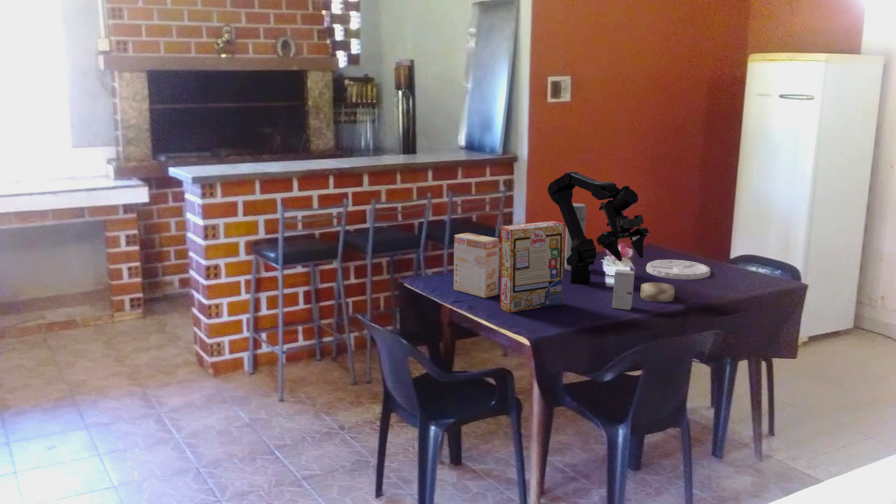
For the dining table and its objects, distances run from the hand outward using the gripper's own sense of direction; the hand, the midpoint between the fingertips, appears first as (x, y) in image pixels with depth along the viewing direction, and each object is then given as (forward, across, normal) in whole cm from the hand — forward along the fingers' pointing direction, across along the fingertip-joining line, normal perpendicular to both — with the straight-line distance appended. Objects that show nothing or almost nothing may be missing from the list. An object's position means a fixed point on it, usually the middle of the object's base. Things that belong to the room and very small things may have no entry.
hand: (631, 259), depth 267 cm
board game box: (+6, -34, +15) cm, 38 cm away
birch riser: (+13, +10, +5) cm, 17 cm away
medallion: (0, +43, +25) cm, 50 cm away
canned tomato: (-15, -17, +47) cm, 53 cm away
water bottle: (-12, +11, +42) cm, 45 cm away
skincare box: (+15, -9, +3) cm, 17 cm away
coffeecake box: (-7, -40, +35) cm, 54 cm away
